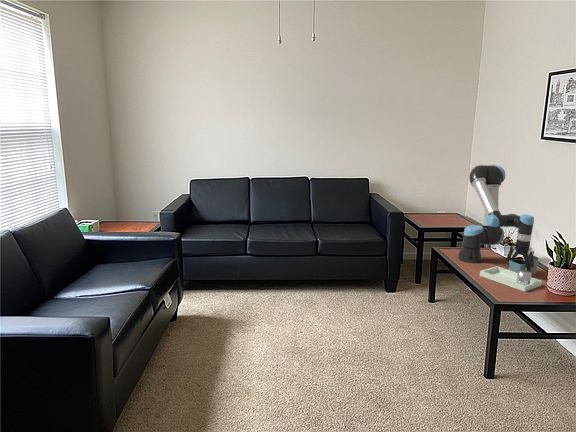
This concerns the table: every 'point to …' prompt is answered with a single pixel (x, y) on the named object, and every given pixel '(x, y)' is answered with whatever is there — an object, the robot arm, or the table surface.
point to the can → (523, 277)
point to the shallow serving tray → (508, 278)
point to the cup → (534, 269)
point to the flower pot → (517, 265)
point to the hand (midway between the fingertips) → (517, 274)
